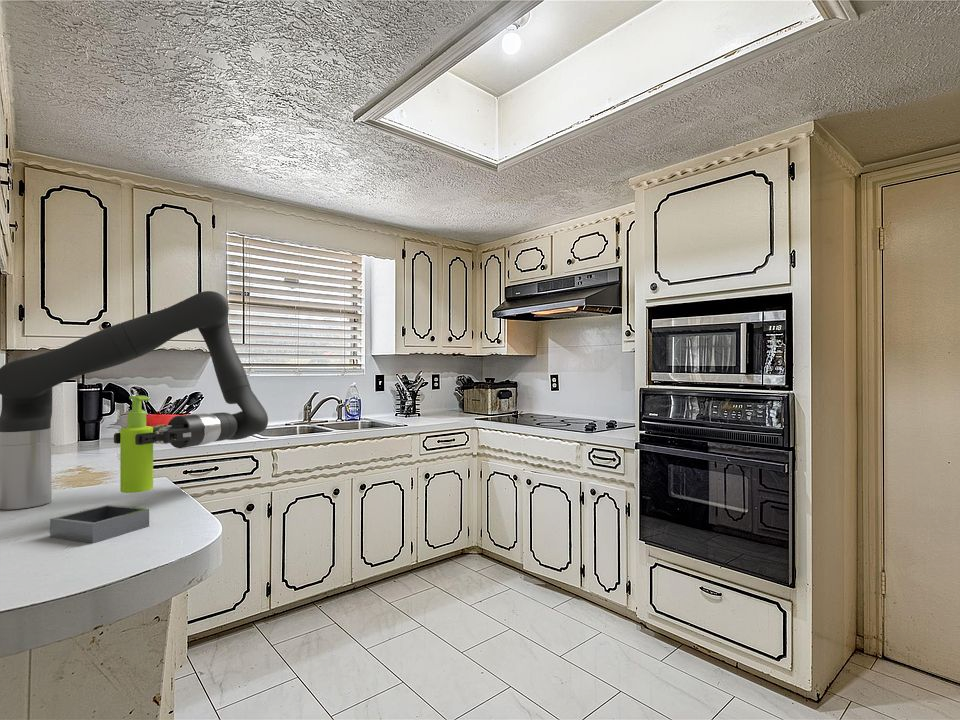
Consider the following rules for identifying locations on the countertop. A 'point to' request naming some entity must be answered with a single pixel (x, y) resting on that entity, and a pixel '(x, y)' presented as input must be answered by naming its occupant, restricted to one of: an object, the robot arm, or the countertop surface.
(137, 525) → the metal tray
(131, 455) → the soap dispenser
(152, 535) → the countertop surface
